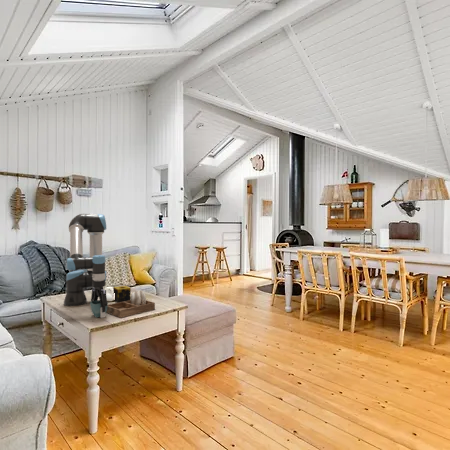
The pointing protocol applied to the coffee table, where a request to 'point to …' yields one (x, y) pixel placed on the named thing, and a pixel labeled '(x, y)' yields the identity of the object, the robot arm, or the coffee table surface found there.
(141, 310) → the tray
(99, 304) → the flower pot
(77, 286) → the robot arm
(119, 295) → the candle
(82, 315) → the coffee table surface
